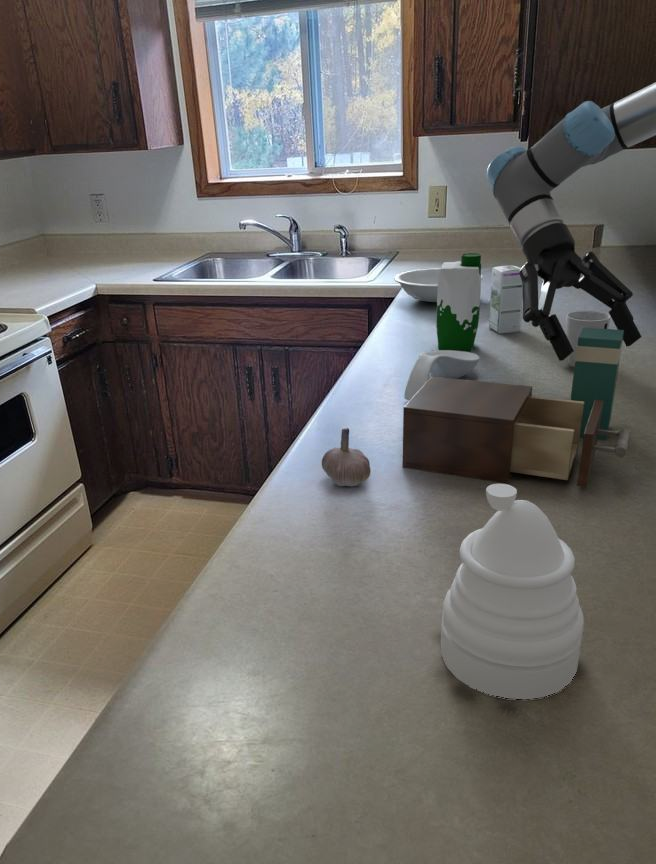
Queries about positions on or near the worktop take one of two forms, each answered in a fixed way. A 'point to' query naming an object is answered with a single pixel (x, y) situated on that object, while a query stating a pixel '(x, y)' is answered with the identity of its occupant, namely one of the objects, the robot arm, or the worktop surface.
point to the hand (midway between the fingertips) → (601, 349)
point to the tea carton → (597, 372)
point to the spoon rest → (439, 368)
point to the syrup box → (506, 299)
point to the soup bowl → (421, 283)
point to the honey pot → (513, 605)
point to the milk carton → (459, 303)
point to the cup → (580, 320)
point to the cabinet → (462, 427)
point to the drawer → (559, 438)
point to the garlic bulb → (346, 463)
